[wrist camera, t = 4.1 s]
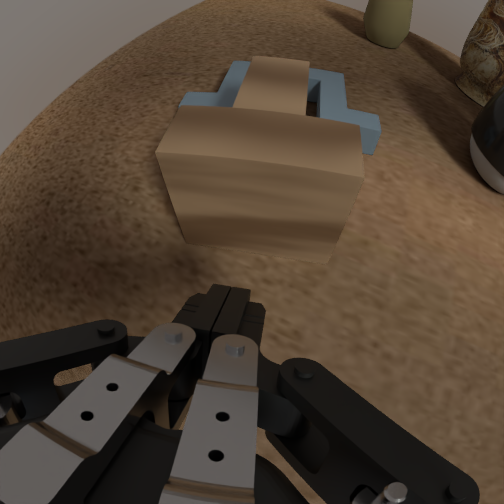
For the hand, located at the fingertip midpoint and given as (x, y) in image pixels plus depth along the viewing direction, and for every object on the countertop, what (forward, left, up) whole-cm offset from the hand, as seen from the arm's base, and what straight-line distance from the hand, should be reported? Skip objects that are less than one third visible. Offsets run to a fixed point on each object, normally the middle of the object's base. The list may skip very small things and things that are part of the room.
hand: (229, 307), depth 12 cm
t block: (-8, -8, -7) cm, 14 cm away
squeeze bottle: (-46, -25, -7) cm, 53 cm away
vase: (-51, -7, -7) cm, 52 cm away
